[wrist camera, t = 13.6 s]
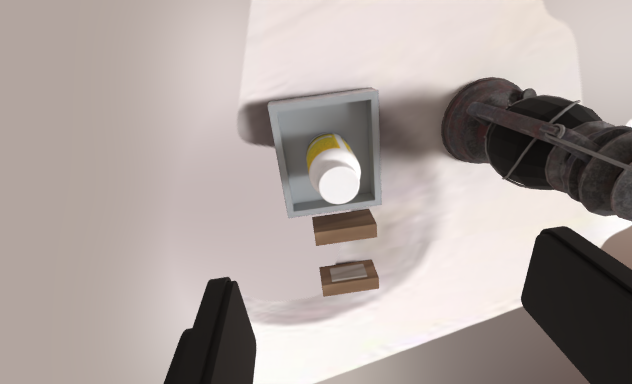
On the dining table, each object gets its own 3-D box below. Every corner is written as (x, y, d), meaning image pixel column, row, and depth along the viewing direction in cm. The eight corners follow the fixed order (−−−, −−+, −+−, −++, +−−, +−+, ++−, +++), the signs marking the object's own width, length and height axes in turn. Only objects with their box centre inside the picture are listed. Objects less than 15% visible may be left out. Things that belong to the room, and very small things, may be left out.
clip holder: (312, 217, 42) (314, 232, 38) (369, 209, 42) (376, 223, 39) (320, 277, 47) (323, 296, 43) (372, 270, 47) (379, 288, 43)
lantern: (546, 107, 38) (1182, 248, 11) (490, 177, 42) (863, 414, 15) (473, 56, 35) (1121, 74, 8) (419, 136, 38) (730, 344, 11)
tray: (269, 101, 35) (267, 105, 32) (371, 87, 35) (378, 90, 33) (288, 207, 41) (288, 218, 38) (375, 194, 41) (381, 204, 39)
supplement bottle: (298, 164, 38) (301, 199, 29) (316, 124, 36) (325, 149, 27) (337, 179, 39) (351, 217, 30) (356, 142, 37) (377, 171, 28)
